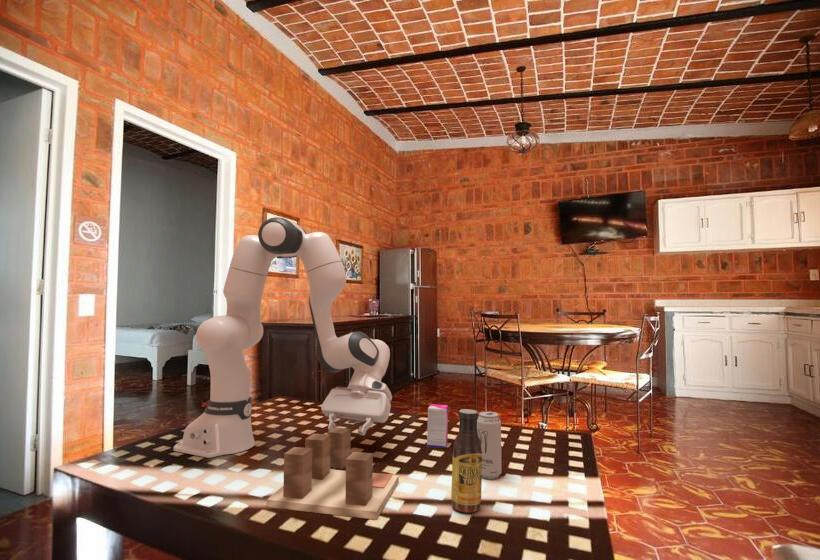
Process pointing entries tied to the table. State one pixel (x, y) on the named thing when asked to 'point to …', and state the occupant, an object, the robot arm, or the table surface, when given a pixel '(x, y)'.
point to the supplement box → (437, 426)
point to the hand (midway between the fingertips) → (345, 432)
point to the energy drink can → (490, 443)
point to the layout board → (331, 482)
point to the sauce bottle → (467, 464)
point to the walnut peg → (339, 446)
